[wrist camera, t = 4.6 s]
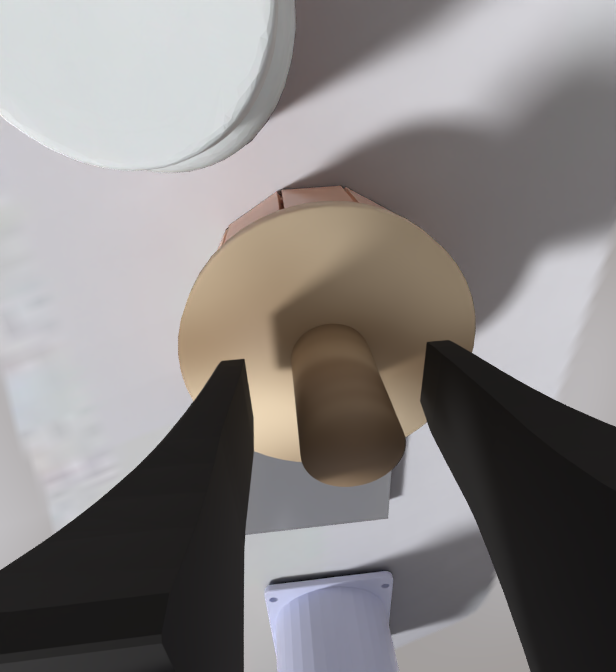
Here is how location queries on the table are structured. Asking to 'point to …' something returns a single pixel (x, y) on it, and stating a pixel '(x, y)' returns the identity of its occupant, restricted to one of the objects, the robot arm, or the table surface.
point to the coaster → (308, 498)
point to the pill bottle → (144, 77)
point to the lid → (327, 331)
